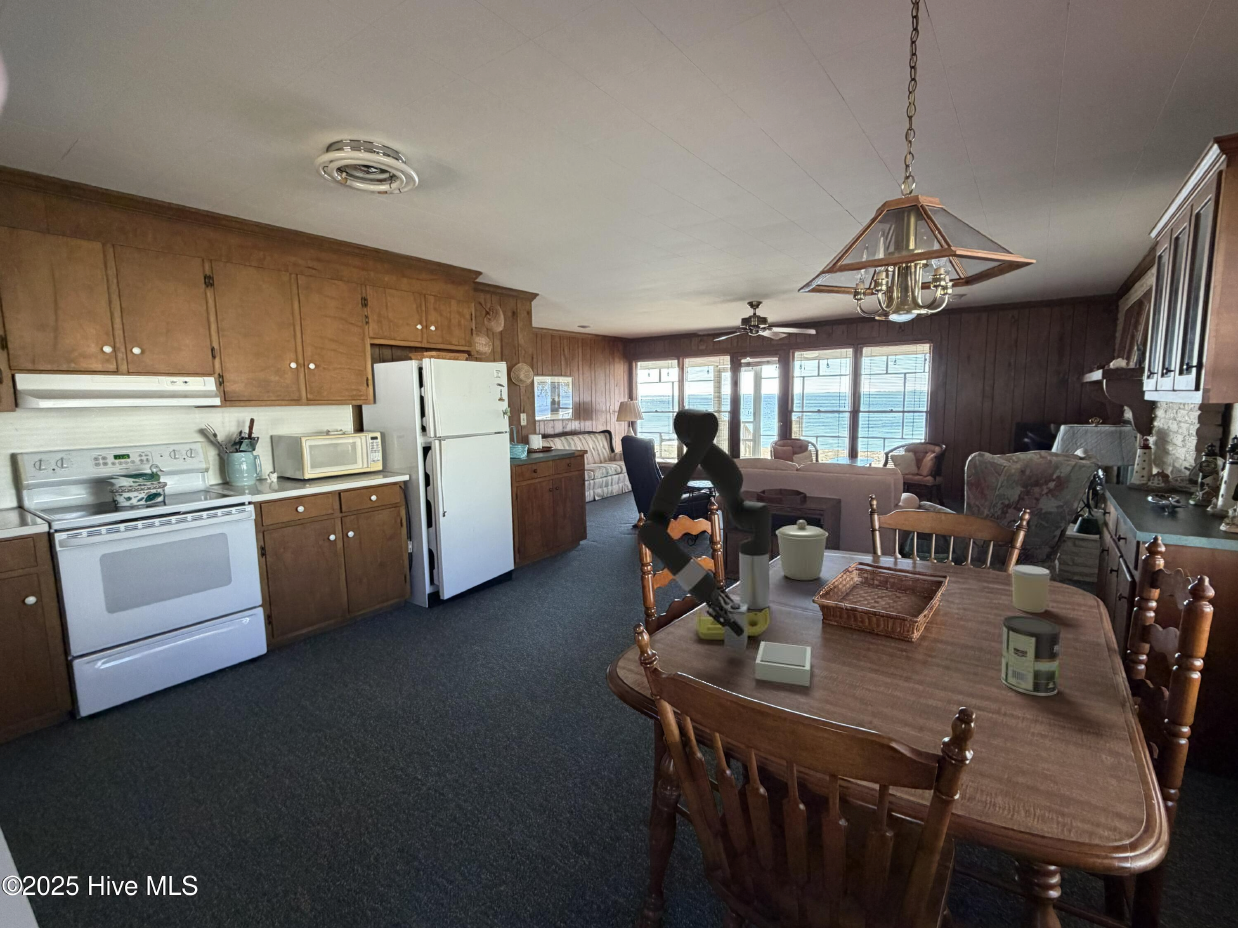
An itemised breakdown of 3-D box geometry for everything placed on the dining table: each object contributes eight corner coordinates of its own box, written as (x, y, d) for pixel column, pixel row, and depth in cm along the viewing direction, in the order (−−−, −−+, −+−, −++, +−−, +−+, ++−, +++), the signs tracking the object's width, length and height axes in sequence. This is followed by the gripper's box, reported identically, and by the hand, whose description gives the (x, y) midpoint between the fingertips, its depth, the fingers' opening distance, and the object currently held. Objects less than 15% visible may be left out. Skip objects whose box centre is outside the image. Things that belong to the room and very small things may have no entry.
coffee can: (1054, 679, 125) (1057, 619, 124) (1060, 701, 116) (1064, 637, 115) (999, 669, 131) (1001, 611, 129) (1001, 689, 122) (1004, 627, 120)
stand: (761, 656, 141) (761, 640, 141) (810, 662, 137) (810, 645, 136) (755, 678, 130) (755, 661, 130) (809, 686, 126) (809, 668, 125)
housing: (727, 638, 145) (726, 599, 144) (748, 641, 143) (747, 601, 142) (723, 647, 140) (723, 607, 139) (745, 650, 138) (744, 609, 137)
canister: (793, 566, 216) (793, 513, 213) (837, 576, 202) (837, 519, 199) (766, 576, 204) (765, 520, 202) (810, 588, 190) (810, 528, 188)
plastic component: (696, 632, 151) (697, 605, 160) (699, 650, 155) (700, 623, 164) (770, 631, 147) (768, 603, 155) (772, 650, 151) (769, 621, 159)
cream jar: (1046, 605, 168) (1048, 567, 167) (1050, 615, 160) (1052, 575, 159) (1009, 600, 173) (1011, 563, 172) (1011, 610, 165) (1013, 571, 164)
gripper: (699, 580, 135) (750, 632, 132) (711, 562, 148) (757, 610, 146) (679, 598, 138) (728, 650, 135) (692, 580, 151) (737, 626, 148)
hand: (743, 629), depth 140 cm, fingers closed on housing, 5 cm apart
